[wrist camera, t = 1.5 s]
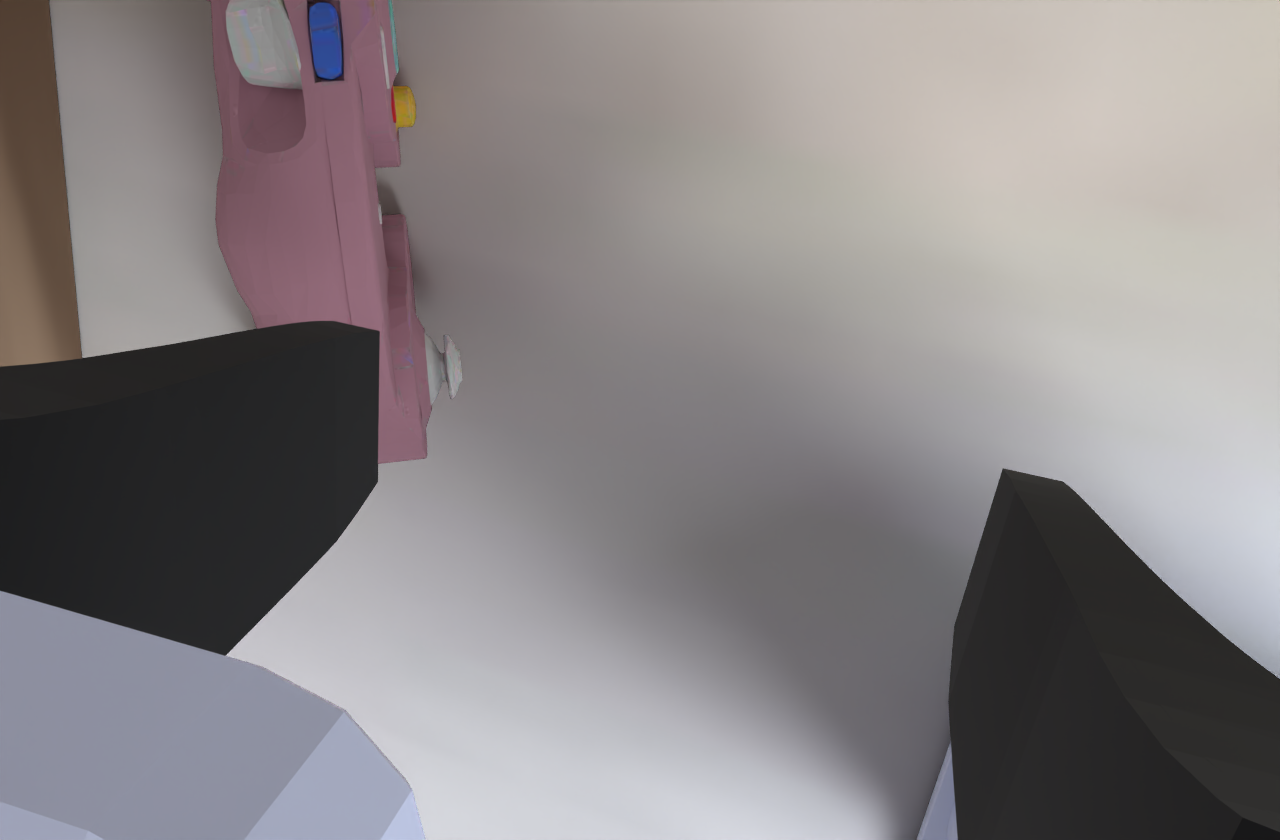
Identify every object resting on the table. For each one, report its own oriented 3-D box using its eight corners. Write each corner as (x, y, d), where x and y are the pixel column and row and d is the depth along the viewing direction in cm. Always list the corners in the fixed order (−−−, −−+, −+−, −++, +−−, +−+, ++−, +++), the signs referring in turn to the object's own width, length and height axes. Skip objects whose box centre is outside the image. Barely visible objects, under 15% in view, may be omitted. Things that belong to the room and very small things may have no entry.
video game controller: (460, 377, 25) (476, 513, 19) (259, 395, 24) (205, 543, 18) (416, -84, 21) (418, -109, 15) (175, -80, 20) (69, -104, 14)
